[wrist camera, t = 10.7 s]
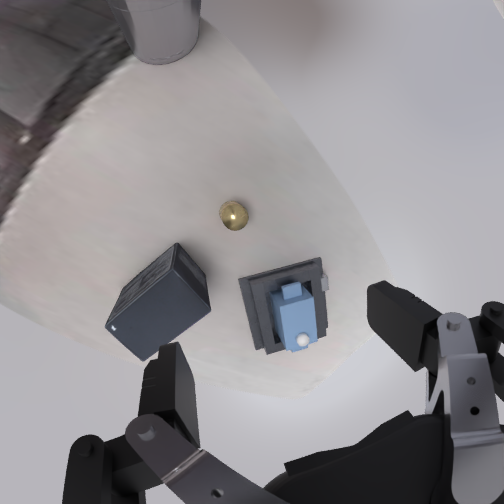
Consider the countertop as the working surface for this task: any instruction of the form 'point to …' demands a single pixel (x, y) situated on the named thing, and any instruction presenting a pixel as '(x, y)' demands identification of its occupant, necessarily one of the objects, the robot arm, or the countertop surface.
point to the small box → (160, 303)
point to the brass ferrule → (233, 215)
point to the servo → (294, 316)
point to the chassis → (262, 283)
